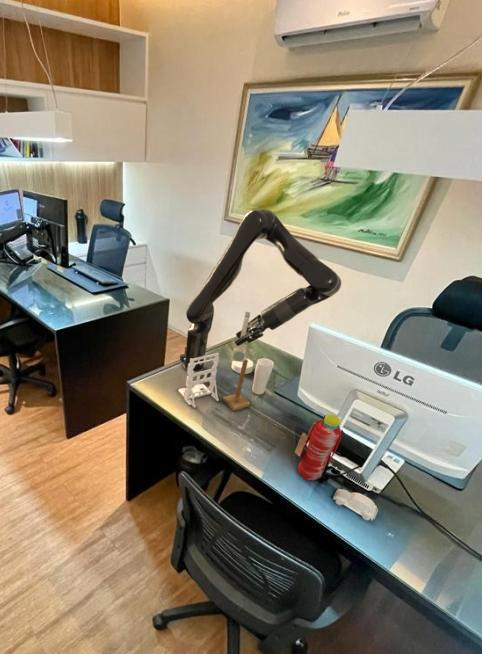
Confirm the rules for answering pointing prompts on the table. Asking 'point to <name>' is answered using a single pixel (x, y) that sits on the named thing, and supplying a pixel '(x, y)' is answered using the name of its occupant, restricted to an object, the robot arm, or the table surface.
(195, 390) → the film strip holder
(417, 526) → the table surface
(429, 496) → the table surface
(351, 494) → the car
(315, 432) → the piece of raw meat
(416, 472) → the table surface
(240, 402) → the stand
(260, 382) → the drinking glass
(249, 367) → the white ribbed cylinder
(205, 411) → the table surface
